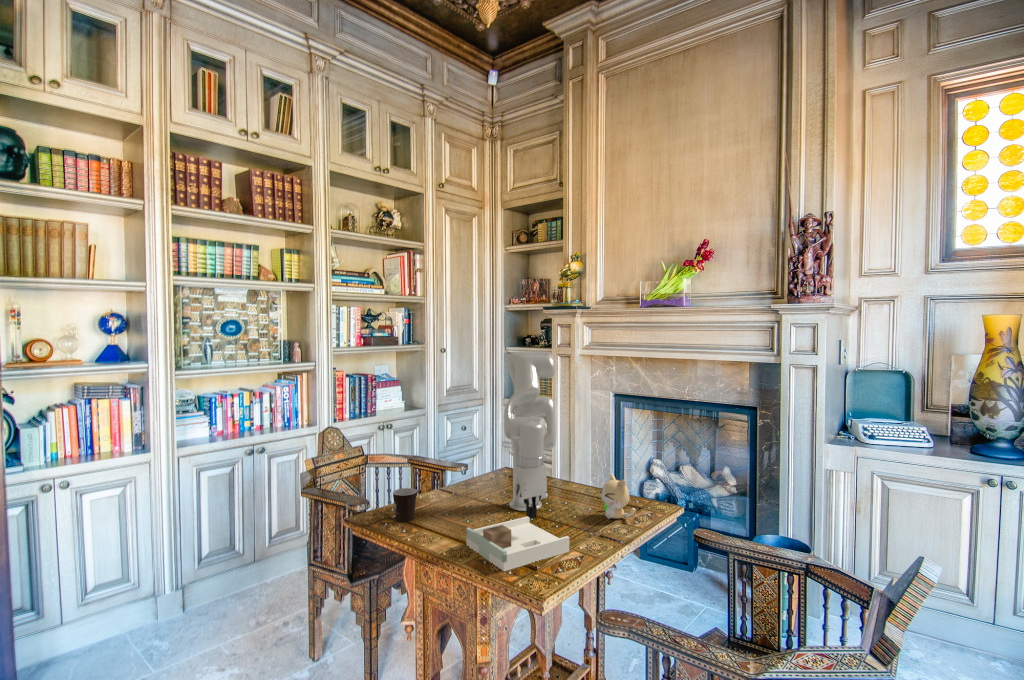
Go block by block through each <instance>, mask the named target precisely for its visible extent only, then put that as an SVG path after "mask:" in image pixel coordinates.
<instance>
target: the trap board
mask: <svg viewBox="0 0 1024 680" xmlns="http://www.w3.org/2000/svg"><path fill="white" fill-rule="evenodd" d="M530 521H531V518H529V517H528V516H527V515H526V516H523V517H519V518H515V519H511V520H507V521H503V522H499V523H495V524H490V525H487V526H482V527H479V528H474V529H473V528H471V527H466V529H465V530H466V532H465V534H466V537H465V539H466V546H467V547H468V546H469V547H468V548H470V549H471V550H472V549H473V551H474V552H475V551H476V552H475V553H477V552H478V553H479V554H478V553H477V554H478V555H480V556H481V557H482V556H483V557H482V558H483V559H485V560H486V561H488V562H490V563H491V564H492V563H493V565H494V566H496V567H497V568H498V569H500V570H501V571H503V572H506V571H510V570H514V569H517V568H520V567H524V566H526V565H529V564H532V562H533V563H536V562H535V561H537V562H540V561H543V560H546V559H550V558H553V557H555V556H559V555H563V554H566V553H569V552H570V536H568V535H566V536H562V537H558V536H556V535H554V534H552V533H550V532H548V531H546V530H544V529H542V528H540V527H538V526H537V525H535V524H532V523H531V522H530ZM500 525H503V526H505V527H507V528H509V529H510V530H511V547H507V548H503V549H502V548H501V547H499V546H498V545H496V544H494V543H493V542H491V541H490V540H488V539H487V538H485V537H483V530H484V529H488V528H492V527H496V526H500ZM542 559H543V560H542ZM539 560H540V561H539Z"/></svg>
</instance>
